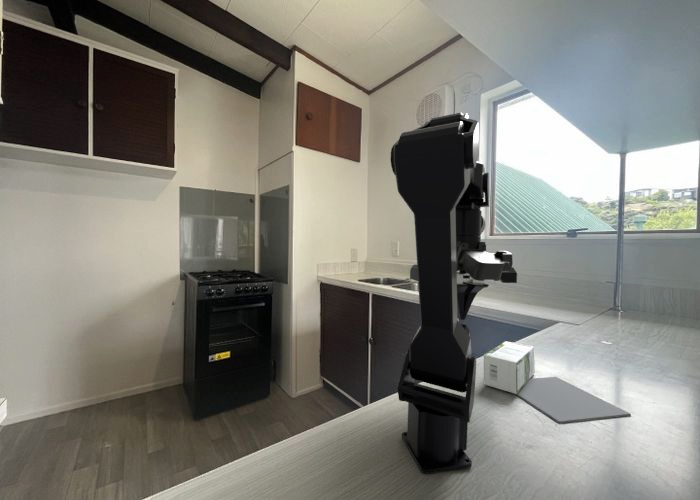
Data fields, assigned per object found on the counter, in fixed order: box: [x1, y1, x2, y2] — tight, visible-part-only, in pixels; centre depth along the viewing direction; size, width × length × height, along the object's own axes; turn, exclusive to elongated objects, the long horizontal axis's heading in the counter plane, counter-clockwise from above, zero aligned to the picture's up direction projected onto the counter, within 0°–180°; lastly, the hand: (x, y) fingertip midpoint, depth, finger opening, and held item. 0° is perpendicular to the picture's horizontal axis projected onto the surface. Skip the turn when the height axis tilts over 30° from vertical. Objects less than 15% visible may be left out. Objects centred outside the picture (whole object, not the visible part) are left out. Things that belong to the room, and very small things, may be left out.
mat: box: [513, 376, 632, 424], centre depth 50 cm, size 14×13×1 cm
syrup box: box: [483, 340, 536, 395], centre depth 56 cm, size 6×6×14 cm
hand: (461, 319), depth 52 cm, fingers closed
